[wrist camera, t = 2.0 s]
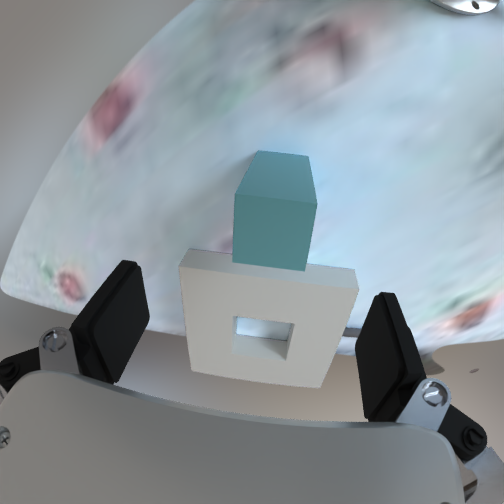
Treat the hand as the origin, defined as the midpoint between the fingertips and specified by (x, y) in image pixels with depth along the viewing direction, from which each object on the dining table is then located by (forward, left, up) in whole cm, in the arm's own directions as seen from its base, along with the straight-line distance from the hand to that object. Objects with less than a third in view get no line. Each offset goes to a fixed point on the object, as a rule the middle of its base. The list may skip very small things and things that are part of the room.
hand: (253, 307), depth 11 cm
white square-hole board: (-3, +15, -15) cm, 22 cm away
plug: (0, -1, -15) cm, 15 cm away
